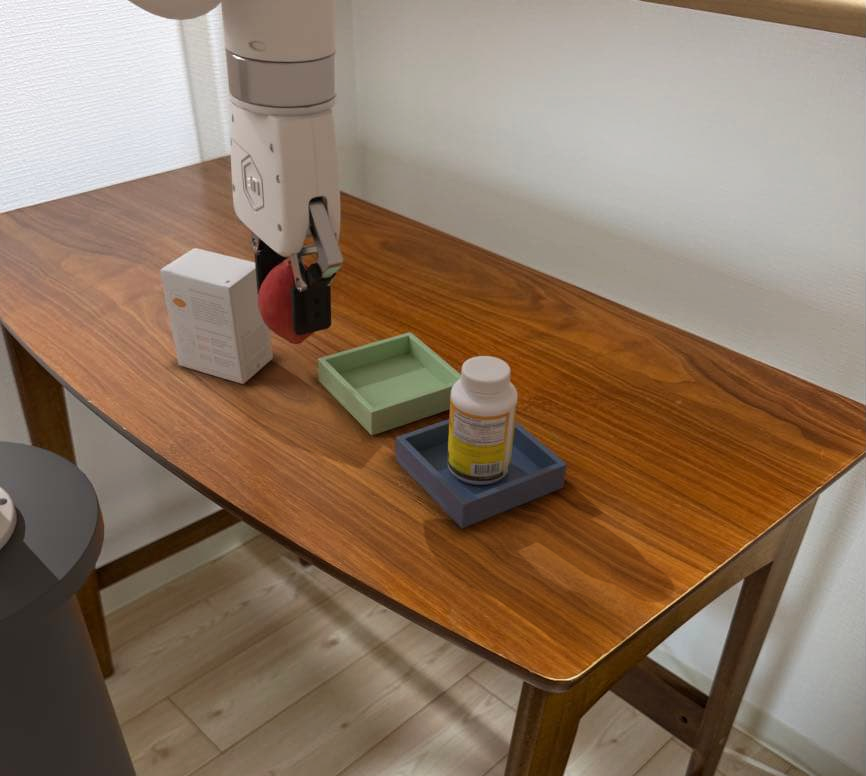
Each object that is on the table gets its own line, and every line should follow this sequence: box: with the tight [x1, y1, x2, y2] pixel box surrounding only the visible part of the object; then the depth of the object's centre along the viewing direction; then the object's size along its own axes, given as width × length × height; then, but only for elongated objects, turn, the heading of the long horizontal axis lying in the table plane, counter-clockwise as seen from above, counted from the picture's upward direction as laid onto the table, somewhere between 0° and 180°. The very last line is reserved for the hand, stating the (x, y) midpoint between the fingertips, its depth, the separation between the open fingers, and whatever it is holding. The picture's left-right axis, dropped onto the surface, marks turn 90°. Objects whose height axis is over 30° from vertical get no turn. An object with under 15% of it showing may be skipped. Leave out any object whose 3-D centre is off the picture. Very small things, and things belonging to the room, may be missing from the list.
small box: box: [159, 247, 274, 385], centre depth 88 cm, size 8×6×10 cm
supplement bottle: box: [448, 355, 519, 485], centre depth 76 cm, size 6×6×10 cm
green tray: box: [317, 331, 461, 436], centre depth 88 cm, size 11×11×3 cm
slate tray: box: [395, 418, 568, 529], centre depth 79 cm, size 11×11×3 cm
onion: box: [258, 256, 315, 345], centre depth 74 cm, size 6×6×8 cm
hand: (293, 310), depth 75 cm, fingers closed on onion, 6 cm apart
